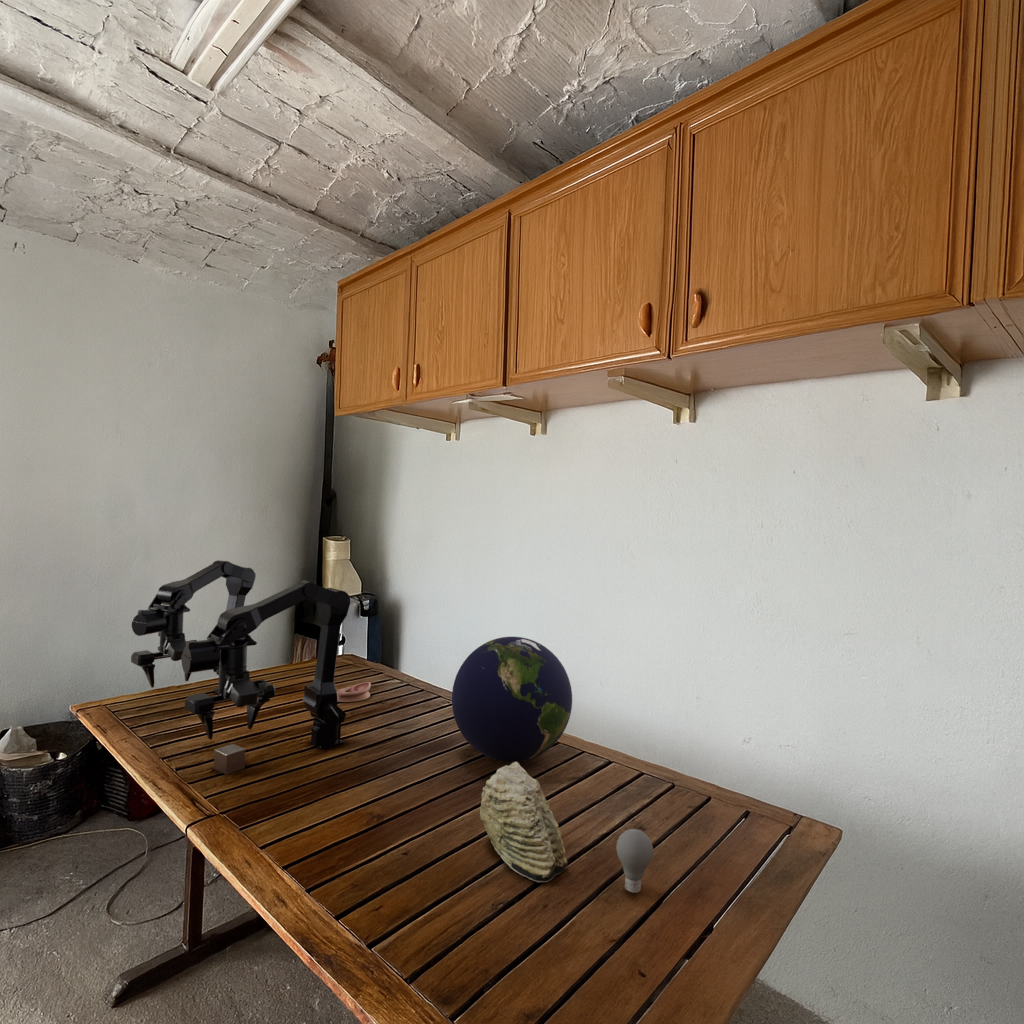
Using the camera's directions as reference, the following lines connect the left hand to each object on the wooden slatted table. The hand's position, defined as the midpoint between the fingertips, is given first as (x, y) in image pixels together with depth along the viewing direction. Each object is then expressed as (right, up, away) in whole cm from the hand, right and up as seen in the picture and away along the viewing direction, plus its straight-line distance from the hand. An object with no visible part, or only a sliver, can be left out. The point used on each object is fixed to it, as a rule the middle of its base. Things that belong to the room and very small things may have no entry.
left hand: (169, 684), depth 180 cm
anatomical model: (+45, -10, +20) cm, 50 cm away
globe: (+97, -13, -22) cm, 100 cm away
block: (+32, -10, -34) cm, 48 cm away
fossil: (+99, -14, -65) cm, 119 cm away
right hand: (+33, -2, -35) cm, 48 cm away
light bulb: (+117, -15, -74) cm, 140 cm away
